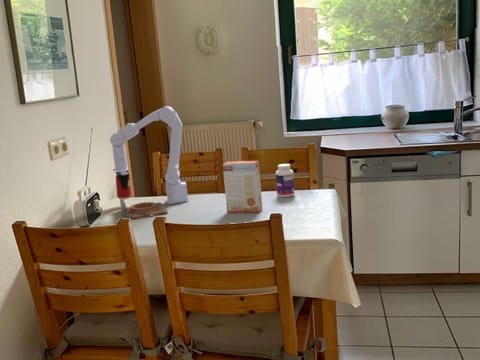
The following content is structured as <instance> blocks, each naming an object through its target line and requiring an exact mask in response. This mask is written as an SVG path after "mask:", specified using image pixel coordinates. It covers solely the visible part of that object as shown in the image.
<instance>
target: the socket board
mask: <svg viewBox="0 0 480 360" xmlns="http://www.w3.org/2000/svg"><path fill="white" fill-rule="evenodd" d="M119 203H120V209H121V210H120V211H121V213H122V216H123V219H124V218H130V219H132V220H135V219H134V218H138V219H141V218H140V217H144V218H147V217H146V216H150V217H152V216H151V215H157V216H161V215H168V214H169V213H168V211H167V209H166V207H165V206H164V205H163V203H162V202H154V201H153V202H152V201H144V202H137V203H135V204H131V205H130V206H129V207H127V205H126V202H125V200H123V199H122V200H121V199H119Z"/></svg>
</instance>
